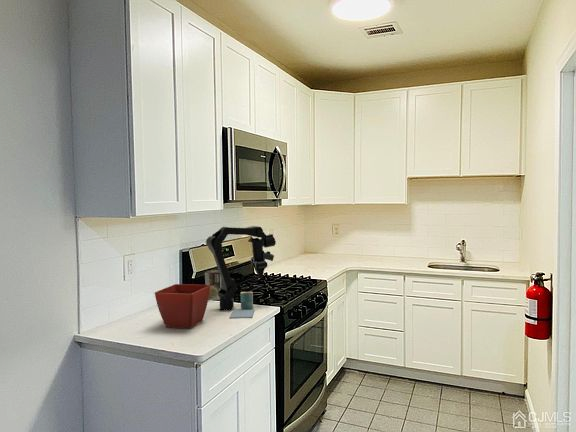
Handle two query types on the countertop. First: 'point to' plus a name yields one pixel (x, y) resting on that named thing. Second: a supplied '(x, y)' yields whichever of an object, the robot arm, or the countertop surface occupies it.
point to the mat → (242, 314)
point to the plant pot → (182, 304)
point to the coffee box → (213, 284)
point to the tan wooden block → (246, 300)
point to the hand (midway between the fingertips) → (260, 277)
